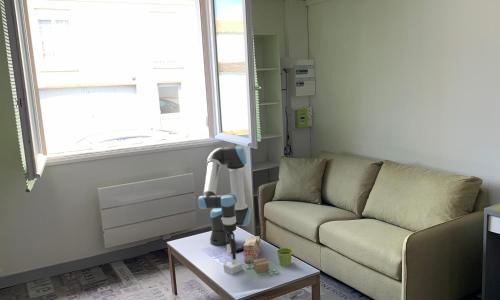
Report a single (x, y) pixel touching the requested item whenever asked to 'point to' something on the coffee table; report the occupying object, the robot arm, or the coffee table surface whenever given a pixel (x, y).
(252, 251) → the stack of blocks
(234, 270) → the small box
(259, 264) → the base brick
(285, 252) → the plant pot
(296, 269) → the coffee table surface
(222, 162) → the robot arm
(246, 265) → the build plate
